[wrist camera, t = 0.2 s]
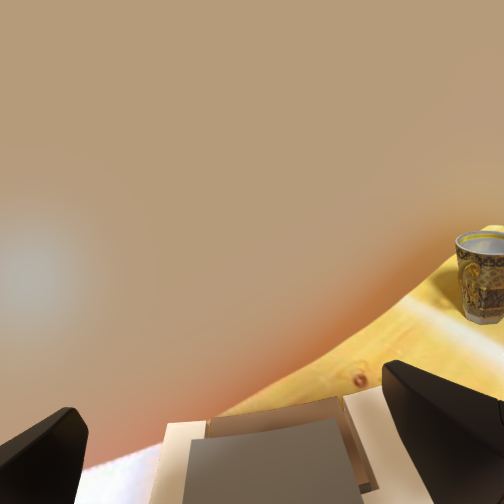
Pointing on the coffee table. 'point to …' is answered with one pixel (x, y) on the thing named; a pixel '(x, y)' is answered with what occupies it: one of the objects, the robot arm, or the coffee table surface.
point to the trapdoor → (295, 418)
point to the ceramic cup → (482, 275)
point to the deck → (364, 434)
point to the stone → (273, 468)
